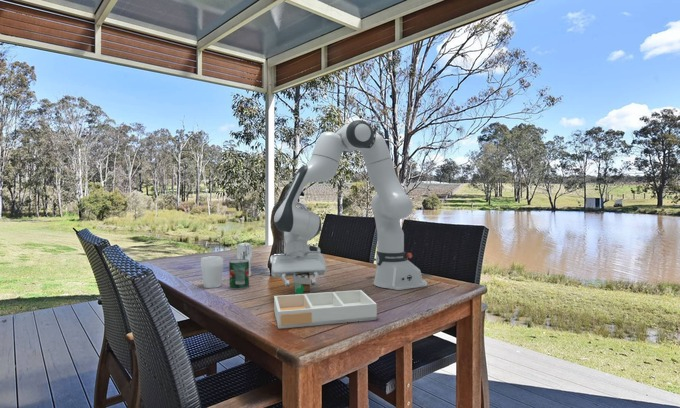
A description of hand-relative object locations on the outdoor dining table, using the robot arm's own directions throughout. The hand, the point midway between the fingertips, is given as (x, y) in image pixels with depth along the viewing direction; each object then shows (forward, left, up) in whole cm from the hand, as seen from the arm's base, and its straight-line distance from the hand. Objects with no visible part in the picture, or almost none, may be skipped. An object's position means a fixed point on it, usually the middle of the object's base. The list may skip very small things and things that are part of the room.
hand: (300, 285), depth 135 cm
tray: (-5, +16, -6) cm, 18 cm away
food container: (0, 0, -6) cm, 6 cm away
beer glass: (+20, -47, -6) cm, 51 cm away
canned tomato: (+22, -27, -6) cm, 35 cm away
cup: (+33, -31, -6) cm, 46 cm away
